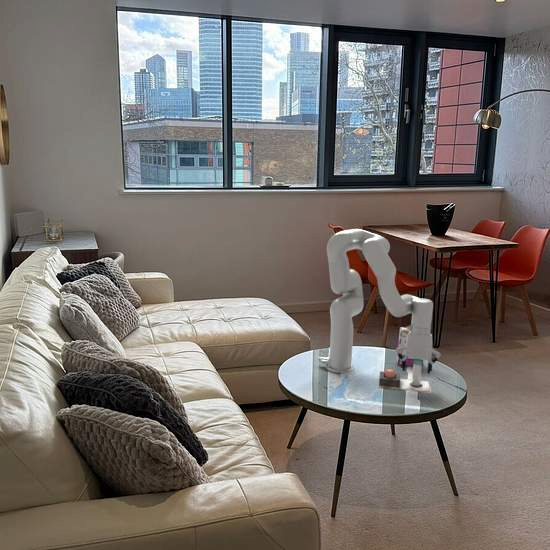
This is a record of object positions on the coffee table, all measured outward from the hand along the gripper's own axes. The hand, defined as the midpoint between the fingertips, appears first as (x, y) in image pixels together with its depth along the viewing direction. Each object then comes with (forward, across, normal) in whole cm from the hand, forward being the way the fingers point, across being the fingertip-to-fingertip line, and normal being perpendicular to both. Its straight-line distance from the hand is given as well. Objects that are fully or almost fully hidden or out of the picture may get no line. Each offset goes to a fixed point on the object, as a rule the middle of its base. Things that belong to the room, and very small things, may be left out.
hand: (416, 371), depth 231 cm
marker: (+6, 0, 0) cm, 6 cm away
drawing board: (+7, -4, 0) cm, 8 cm away
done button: (+4, -10, 0) cm, 11 cm away
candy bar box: (+7, -1, +27) cm, 28 cm away
